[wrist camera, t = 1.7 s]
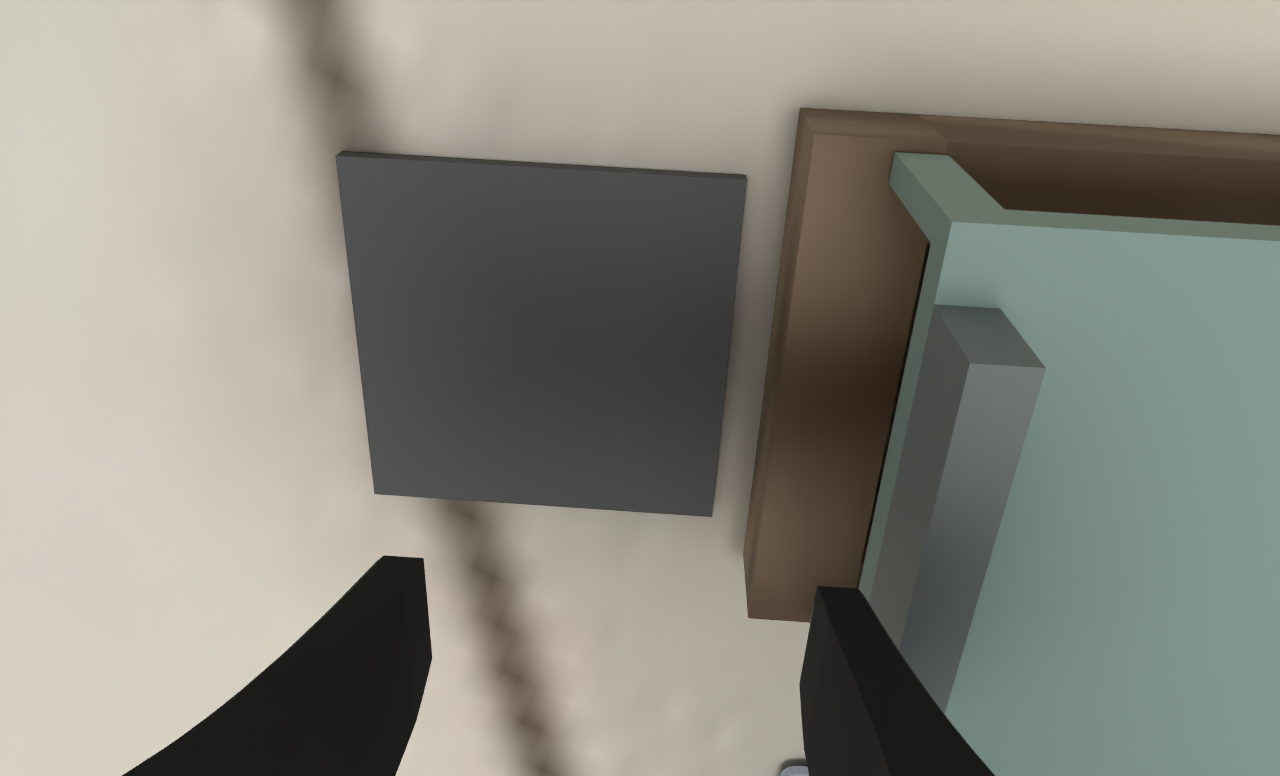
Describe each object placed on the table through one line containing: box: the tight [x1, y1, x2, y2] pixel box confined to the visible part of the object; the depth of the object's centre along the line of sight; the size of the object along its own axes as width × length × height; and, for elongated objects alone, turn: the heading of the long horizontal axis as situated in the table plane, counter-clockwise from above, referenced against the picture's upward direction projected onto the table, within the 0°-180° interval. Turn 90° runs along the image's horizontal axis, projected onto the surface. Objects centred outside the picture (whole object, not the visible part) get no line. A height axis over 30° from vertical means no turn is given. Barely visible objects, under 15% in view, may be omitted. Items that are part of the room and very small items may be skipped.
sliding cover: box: [810, 152, 1280, 776], centre depth 17 cm, size 12×9×6 cm
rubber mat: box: [336, 151, 747, 517], centre depth 22 cm, size 9×9×1 cm
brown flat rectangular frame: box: [743, 108, 1280, 622], centre depth 20 cm, size 12×22×2 cm, turn 88°
